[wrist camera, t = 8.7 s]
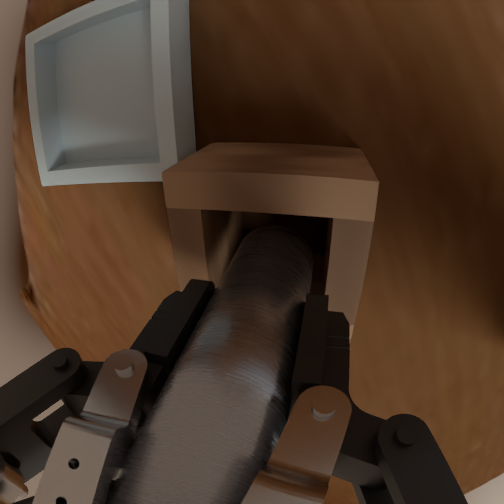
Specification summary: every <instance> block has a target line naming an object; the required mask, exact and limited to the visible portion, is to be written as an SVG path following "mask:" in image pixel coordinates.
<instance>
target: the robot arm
mask: <svg viewBox="0 0 504 504" xmlns="http://www.w3.org/2000/svg"><path fill="white" fill-rule="evenodd" d="M214 291H215V285H214V282H213V281H206V280H199V279H191V280H190V281H189V282H188V284H187V285H186V287H185V288H184V290H183V291H182V292H180V291H175V292H174V293H172V294H171V295H169V296H168V297H166V298H165V299H164V300H163V302H162V303H161V305H160V306H159V307H158V309H157V311H156V312H155V313H154V314H153V316H152V319H150V320H149V322H148V323H147V324H146V326H145V327H144V329H143V330H142V332H141V333H140V334H139V336H138V337H137V339H136V340H135V342H134V343H133V345H132V346H131V348H130V349H123V350H119V351H116V352H115V353H113V354H111V355H110V356H109V357H108V358H107V359H106V360H105V362H91V361H82V359H81V357H80V355H79V354H78V352H77V351H76V350H74V349H71V348H61V349H58V350H55V351H54V352H52V353H51V354H49V355H48V356H46V357H45V358H43V359H42V360H40V361H39V362H37V363H36V364H34V365H33V366H31V367H30V368H28V369H27V370H25V371H24V372H22V373H21V374H19V375H18V376H16V377H15V378H14V379H12V380H11V381H9V382H8V383H6V384H5V385H3V386H2V387H0V504H106V502H107V500H108V497H109V496H108V495H109V493H110V491H111V489H112V487H113V485H114V483H115V480H114V479H115V478H116V476H117V474H118V472H119V470H120V469H121V468H122V465H123V463H124V461H125V459H126V457H127V454H128V452H129V450H130V449H131V447H132V445H133V443H134V441H135V439H136V437H137V435H138V433H139V431H140V429H141V427H142V426H143V424H144V422H145V420H146V418H147V416H148V414H149V412H150V410H151V408H152V407H153V405H154V403H155V401H156V399H157V397H158V395H159V393H160V391H161V390H162V388H163V386H164V384H165V382H166V380H167V378H168V376H169V375H170V373H171V371H172V369H173V367H174V365H175V363H176V361H177V360H178V358H179V356H180V354H181V352H182V350H183V348H184V347H185V345H186V343H187V341H188V339H189V337H190V335H191V334H192V332H193V330H194V328H195V326H196V324H197V322H198V321H199V319H200V317H201V315H202V313H203V311H204V310H205V308H206V306H207V304H208V302H209V300H210V299H211V297H212V295H213V293H214ZM328 302H329V295H323V294H314V293H307V295H306V301H305V308H304V314H303V320H302V326H301V332H300V338H299V344H298V349H297V355H296V360H295V366H294V371H293V376H292V382H291V390H290V400H291V408H290V413H289V418H288V421H287V423H286V425H285V427H284V430H283V432H282V434H281V436H280V438H279V440H278V442H277V444H276V446H275V448H274V451H273V453H272V455H271V457H270V459H269V460H268V462H267V464H266V465H265V466H264V467H263V468H262V469H261V470H260V471H259V473H258V474H257V476H256V478H255V479H254V481H253V483H252V485H251V487H250V488H249V490H248V492H247V494H246V496H245V497H244V499H243V501H242V503H241V504H323V502H324V499H325V496H326V493H327V490H328V484H329V480H330V477H331V475H333V476H336V477H338V478H341V479H344V480H346V481H349V482H352V484H353V487H354V489H355V492H356V495H357V497H358V500H359V503H360V504H468V503H467V501H466V499H465V497H464V495H463V493H462V491H461V489H460V487H459V485H458V483H457V481H456V479H455V477H454V475H453V473H452V471H451V469H450V467H449V465H448V463H447V461H446V459H445V457H444V456H443V454H442V452H441V450H440V448H439V446H438V444H437V442H436V441H435V439H434V437H433V435H432V433H431V432H430V430H429V428H428V426H427V425H426V424H425V422H424V421H422V420H421V419H420V418H418V417H416V416H414V415H410V414H398V415H394V416H392V417H390V418H389V419H387V420H385V419H382V418H379V417H376V416H373V415H370V414H368V413H366V412H364V411H362V410H361V409H359V408H358V407H357V406H356V405H355V404H354V402H353V401H352V399H351V397H350V394H349V354H350V350H349V347H350V339H349V337H350V324H349V322H348V320H347V318H346V317H345V315H344V313H343V312H335V311H328ZM60 399H61V400H62V401H63V402H64V405H63V406H61V407H60V408H59V409H57V410H56V411H54V412H53V413H52V414H50V415H49V416H47V417H46V418H45V419H43V420H41V421H38V422H36V421H33V420H32V419H34V418H35V417H36V416H38V415H39V414H41V413H42V412H43V411H45V410H46V409H48V408H49V407H50V406H52V405H53V404H55V403H56V402H57V401H59V400H60ZM42 470H44V471H43V474H42V477H41V479H40V482H39V485H38V488H37V491H36V494H35V496H33V497H30V498H27V499H24V500H21V501H18V502H15V503H14V501H15V499H16V498H17V497H18V496H19V497H22V498H24V497H26V496H27V494H28V489H27V486H26V485H25V484H24V483H25V482H27V481H28V480H29V479H31V478H32V477H34V476H35V475H37V474H38V473H39V472H41V471H42Z"/></svg>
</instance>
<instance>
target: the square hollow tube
mask: <svg viewBox="0 0 504 504" xmlns="http://www.w3.org/2000/svg"><path fill="white" fill-rule="evenodd" d="M162 180H163V188H164V195H165V203H166V210H167V216H168V223H169V230H170V236H171V242H172V248H173V254H174V260H175V265H176V271H177V276H178V282H179V287H180V292H182V291H183V290H184V288H185V287H186V285H187V284H188V282H189V281H190V280H191V279H199V280H206V281H213V282H214V285H215V289H216V288H217V286H218V284H219V282H220V280H221V279H222V277H223V275H224V273H225V271H226V269H227V268H228V266H229V264H230V262H231V260H232V259H233V257H234V255H235V253H236V251H237V250H238V248H239V246H240V244H241V242H242V240H243V230H242V212H259V213H274V214H289V215H302V216H315V217H327V218H328V228H327V239H326V250H325V255H322V254H313V259H314V265H313V272H312V280H311V287H310V293H314V294H323V295H329V302H328V311H335V312H343V313H344V315H345V317H346V318H347V320H348V322H349V324H350V337H349V339H350V340H351V336H352V332H353V328H354V324H355V320H356V315H357V311H358V306H359V302H360V297H361V292H362V287H363V283H364V277H365V272H366V267H367V262H368V256H369V250H370V244H371V238H372V232H373V225H374V218H375V211H376V204H377V196H378V188H379V181H378V179H377V177H376V175H375V173H374V171H373V169H372V167H371V166H370V164H369V162H368V160H367V158H366V156H365V155H364V153H363V151H362V149H360V148H350V147H338V146H325V145H309V144H289V143H251V142H224V143H211V144H209V145H207V146H206V147H204V148H202V149H200V150H198V151H197V152H195V153H193V154H191V155H190V156H188V157H186V158H185V159H183V160H181V161H179V162H178V163H176V164H174V165H173V166H171V167H169V168H168V169H166V170H165V171H163V172H162Z"/></svg>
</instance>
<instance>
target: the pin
mask: <svg viewBox="0 0 504 504" xmlns="http://www.w3.org/2000/svg"><path fill="white" fill-rule="evenodd" d="M313 265H314V259H313V253H312V250H311V248H310V246H309V244H308V243H307V242H306V240H305V239H304V238H303V237H302V236H301V235H299V234H298V233H297V232H295V231H293V230H291V229H289V228H286V227H283V226H277V225H269V226H263V227H259V228H257V229H255V230H253V231H251V232H250V233H249V234H247V235H246V236H245V238H244V239H243V240H242V242H241V244H240V246H239V248H238V250H237V251H236V253H235V255H234V257H233V259H232V260H231V262H230V264H229V266H228V268H227V269H226V271H225V273H224V275H223V277H222V279H221V280H220V282H219V284H218V286H217V288H216V289H215V291H214V293H213V295H212V297H211V299H210V300H209V302H208V304H207V306H206V308H205V310H204V311H203V313H202V315H201V317H200V319H199V321H198V322H197V324H196V326H195V328H194V330H193V332H192V334H191V335H190V337H189V339H188V341H187V343H186V345H185V347H184V348H183V350H182V352H181V354H180V356H179V358H178V360H177V361H176V363H175V365H174V367H173V369H172V371H171V373H170V375H169V376H168V378H167V380H166V382H165V384H164V386H163V388H162V390H161V391H160V393H159V395H158V397H157V399H156V401H155V403H154V405H153V407H152V408H151V410H150V412H149V414H148V416H147V418H146V420H145V422H144V424H143V426H142V427H141V429H140V431H139V433H138V435H137V437H136V439H135V441H134V443H133V445H132V447H131V449H130V450H129V452H128V454H127V457H126V459H125V461H124V463H123V465H122V468H121V469H120V470H119V472H118V474H117V476H116V478H115V479H114V480H115V483H114V485H113V487H112V489H111V491H110V493H109V495H108V496H109V497H108V500H107V502H106V504H241V503H242V501H243V499H244V497H245V496H246V494H247V492H248V490H249V488H250V487H251V485H252V483H253V481H254V479H255V478H256V476H257V474H258V473H259V471H260V470H261V469H262V468H263V467H264V466H265V465H266V464H267V462H268V460H269V459H270V457H271V455H272V453H273V451H274V448H275V446H276V444H277V442H278V440H279V438H280V436H281V434H282V432H283V430H284V427H285V425H286V423H287V421H288V418H289V413H290V408H291V400H290V390H291V382H292V376H293V371H294V366H295V360H296V355H297V349H298V344H299V338H300V332H301V326H302V320H303V314H304V308H305V301H306V295H307V293H310V287H311V280H312V272H313Z"/></svg>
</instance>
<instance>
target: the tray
mask: <svg viewBox="0 0 504 504" xmlns="http://www.w3.org/2000/svg"><path fill="white" fill-rule="evenodd" d="M25 50H26V78H27V92H28V103H29V112H30V120H31V128H32V135H33V141H34V147H35V153H36V159H37V164H38V169H39V174H40V178H41V183H42V186H52V185H67V184H85V183H108V182H148V181H163V180H162V172H163V171H165V170H166V169H168V168H169V167H171V166H173V165H174V164H176V163H178V162H179V161H181V160H183V159H185V158H186V157H188V156H190V155H191V154H193V153H195V152H196V140H195V126H194V111H193V94H192V75H191V53H190V22H189V0H95V1H93V2H90V3H88V4H86V5H83V6H81V7H79V8H77V9H74V10H72V11H70V12H68V13H66V14H64V15H62V16H60V17H58V18H56V19H54V20H52V21H50V22H48V23H47V24H45V25H43V26H41V27H39V28H38V29H36V30H34V31H32V32H31V33H29V34H27V35H26V36H25Z"/></svg>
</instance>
